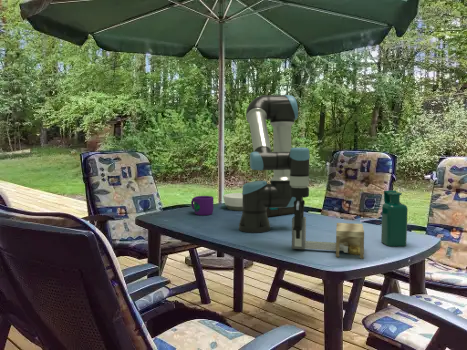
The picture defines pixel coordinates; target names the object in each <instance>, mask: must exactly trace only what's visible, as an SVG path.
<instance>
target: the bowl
mask: <svg viewBox="0 0 467 350" xmlns="http://www.w3.org/2000/svg"><path fill="white" fill-rule="evenodd" d="M222 197H223V201H224V204H225V206H226V208H227V210H229V211H234V212H235V211H236V212H243V209H242V207H243V195H242V192H231V193H226V194H224V195H223V196H222Z"/></svg>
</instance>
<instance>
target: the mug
mask: <svg viewBox="0 0 467 350" xmlns="http://www.w3.org/2000/svg"><path fill="white" fill-rule="evenodd" d="M190 205H191V208H192V209H193V210H194V213H195V215H197V216H210V215H212V214H213V213H214V196H211V195H198V196H197V195H196V196H195V197H193V198H192V199H191V201H190Z"/></svg>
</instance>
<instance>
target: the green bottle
mask: <svg viewBox="0 0 467 350" xmlns="http://www.w3.org/2000/svg"><path fill="white" fill-rule="evenodd" d="M402 195H403V194H402V192H398V191H397V190H395V189H394V190H383V200H384V201H383V202H384V203H383V204H382V208H381V239H380V241H381V243H382V244H384V245H386V246H387V247H391V248H392V247H405V246H407V239H408V238H407V235H408V234H407V233H408V211H409V210H408V209H409V208H408V207H407V204H404V203H402V202H401V201H400V200H401V198H400V197H401V196H402Z"/></svg>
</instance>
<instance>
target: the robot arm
mask: <svg viewBox="0 0 467 350" xmlns="http://www.w3.org/2000/svg"><path fill="white" fill-rule="evenodd" d="M245 117H246V118H245V119H246V121H247V122H248V125H249V130H250V136H251V145H252V149H253V150H252V152H251V153H250V154H249V167H250V169H251V170H252V171H273V177H272V178H270V183H268V182H267V181H266V180H255V181H249V182H245V183H244V184H243V186H242V192H241V193H242V195H243V207H242V209H243V211H241V212H242V214H241V217H240V220H239V223H238V230H239V231H240V232H243V233H244V232H245V233H251V234H254V233H256V234H257V233H265V232H269V231H270V230H271V223H270V221H269V217H267V213H266V209H267V208H287V207H294V213H293V214H294V215H293V216H294V229H293V230H295V246H298V247H302V228H301V222H302V217H305V214H304V211H305V203H306V201H305V200H304V198H308V197H309V196H310V188H309V186H310V182H311V180H312V179H311V178H310V157H311V156H310V149H309V148H308V147H292V126H293V125H294V124H295V121H296V120H297V119H298V118H299V108H298V103H297V99H296V98H295V96H293V95H289V94H287V95H286V94H275V95H274V94H269V95H268V94H264V95H262V94H261V95H259V96H257V97H255V98H254V99H252V100H251V102H249V104H248V105H247V107H246V111H245ZM267 120H268V121H269V123H270V126H271V127H272V128H273V129H272V131H273V141H272V142H273V151H272V147H271V142H270V136H269V132H268V126H267ZM296 226H297V227H296Z"/></svg>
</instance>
